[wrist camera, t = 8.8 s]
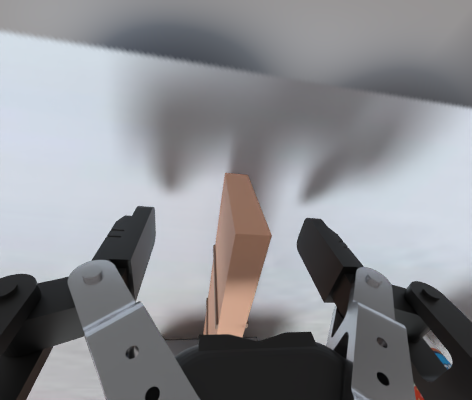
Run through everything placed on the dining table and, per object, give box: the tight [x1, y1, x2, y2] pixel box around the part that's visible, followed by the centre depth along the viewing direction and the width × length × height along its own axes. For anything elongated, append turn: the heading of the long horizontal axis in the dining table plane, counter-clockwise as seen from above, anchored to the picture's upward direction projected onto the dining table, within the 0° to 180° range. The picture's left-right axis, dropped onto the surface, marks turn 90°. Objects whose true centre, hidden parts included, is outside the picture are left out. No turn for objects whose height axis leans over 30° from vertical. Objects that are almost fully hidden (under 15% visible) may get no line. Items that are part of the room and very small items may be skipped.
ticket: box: [203, 173, 272, 337], centre depth 14 cm, size 1×21×5 cm, turn 171°
